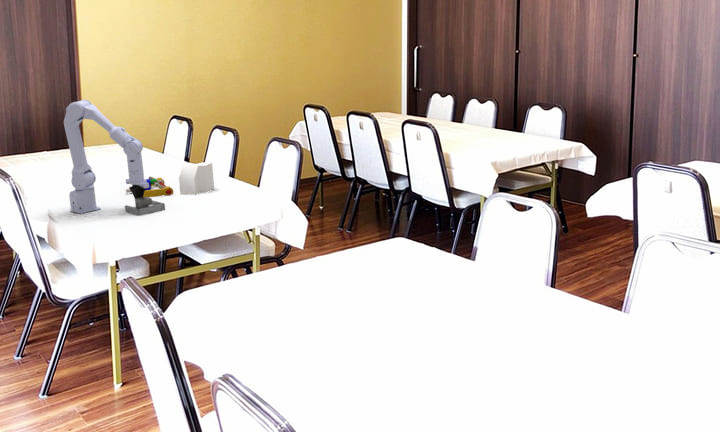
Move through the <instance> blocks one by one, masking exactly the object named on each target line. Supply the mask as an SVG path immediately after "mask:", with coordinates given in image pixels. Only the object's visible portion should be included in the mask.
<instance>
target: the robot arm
mask: <svg viewBox="0 0 720 432" xmlns="http://www.w3.org/2000/svg"><path fill="white" fill-rule="evenodd" d="M83 120H92V121H94V122H95V123H96V124H98V125H99V126H100V127H101V128H103V129H104V130H105V131H107V132H108V133H109V138H111V140H113V141H114V142H115V143H116V144H118V146H119V147H121V149H123V152H124V154H125V155H126V162H127V168H128V178H126V179H125V184H126V185H131V186H129V187H128V189H130V190H131V192H130V193H131V194H132V195H133V198H134V200H135V199H136V198H141V197H143V195H144V192H145V189H146V188H149V183H147V182H146V181H147V180H146V179H147V178H145V176H144V175H145V173H144V168H143V167H144V165H143V155H142V151H143V148H144V146H143V143H142V142H141V140H140V139H138V138H135V137H134V136H131V135H130V134H129V133H128V132H127V131H126V128H124V127H121V126H116V125H114V124H113V123H112V122H111V120H109V118H107V116H105V115H104V114H103V113H102V112H101V111H100V110H99V109H98V107H97V106H96V105H95V104H93V103H92V102H91V101H90V100H87V99H81V100H79V101H73V102H71V103H69V105H68V106H67V107H66V108H65V116H64V119H63V125H64V131H65V135H66V140H67V144H68V148H69V152H70V156H71V161H72V165H73V168H72V170H71V175H72V176H71V185H72V187H73V188H74V189H75V190H71V191H70V192H69V196H68V197H69V198H68V199H69V203H70V204H69V205H70V212H73V213H76V214H84V213H88V212H93V211H98V210H101V209H102V207H99V206H97V201H96V190H95V185H94V184H95V182H96V180H97V179H96V178H97V177H96V175H95V172H94V171H93V170H92V167H91V165H90V164H89V163H88V160H87V156H86V151H85V147H84V143H83V138H82V134H81V130H80V124H81V123H82V121H83Z"/></svg>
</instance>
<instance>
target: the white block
mask: <svg viewBox="0 0 720 432" xmlns="http://www.w3.org/2000/svg"><path fill="white" fill-rule="evenodd" d="M181 167H182V168H181V170H180V173H179V175H178V176H179V177H178V183H179V192H180V193H179V194H180V195H187V194H196V195H198V194H200V193H206V192H208V191H210V190H212V189H214V190H215V184H214V183H215V180H214V179H215V178H214V171H213V162H199V163H185V164H183V165H182V166H181ZM212 191H213V190H212ZM199 192H200V193H199ZM210 192H211V191H210ZM197 193H198V194H197ZM208 193H209V192H208Z"/></svg>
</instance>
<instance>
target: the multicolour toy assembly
mask: <svg viewBox="0 0 720 432" xmlns="http://www.w3.org/2000/svg"><path fill="white" fill-rule="evenodd" d="M145 179H146V180H147V181H146V182H147V183H149V188H146V189H145V192H144V195H143V197H149V198H153V197H154V198H157V197H163V195H164V196H171V195H170V194H172V195H173V194H174V189H173V188H172V187H171V186H166V185H165V179H163V178H162V177H157V178H155V177H153V176H151V175H149V176H148V178H145ZM152 187H156V188H155V189H154V188H153V189H152ZM125 191H126V193H132V192H131V190H130V189H129V188H127V189H125Z"/></svg>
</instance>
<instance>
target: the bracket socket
mask: <svg viewBox="0 0 720 432" xmlns="http://www.w3.org/2000/svg"><path fill="white" fill-rule="evenodd" d="M165 204H166V203H164V202H160V201H156V200H152V204H148V205H147V206H148V207H144V208H139V209H138V208H136V206H135V207H134V206H130V205H124V210H125V211H124V212H125V213H128V214H132V215H135V216H143V215H148V214H152V213H156V212H161V211H165V210H166V205H165Z"/></svg>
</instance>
